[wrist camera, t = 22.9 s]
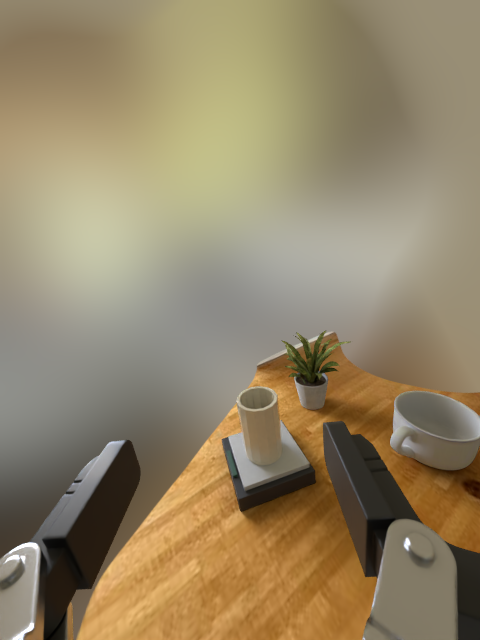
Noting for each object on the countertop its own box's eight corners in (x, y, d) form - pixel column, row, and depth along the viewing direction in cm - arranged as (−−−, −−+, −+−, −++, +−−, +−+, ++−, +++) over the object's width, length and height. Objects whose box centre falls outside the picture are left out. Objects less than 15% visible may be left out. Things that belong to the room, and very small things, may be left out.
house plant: (344, 383, 60) (343, 320, 56) (360, 422, 47) (361, 345, 43) (285, 384, 63) (280, 324, 59) (285, 421, 50) (278, 349, 46)
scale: (240, 512, 35) (237, 495, 34) (223, 449, 46) (220, 435, 45) (315, 482, 37) (315, 466, 36) (282, 430, 48) (281, 416, 47)
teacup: (429, 422, 45) (433, 384, 43) (498, 472, 35) (509, 426, 33) (361, 441, 43) (361, 402, 41) (413, 499, 33) (417, 453, 31)
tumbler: (251, 471, 37) (243, 416, 34) (240, 441, 43) (232, 392, 40) (289, 458, 38) (284, 404, 35) (273, 430, 44) (268, 382, 41)
